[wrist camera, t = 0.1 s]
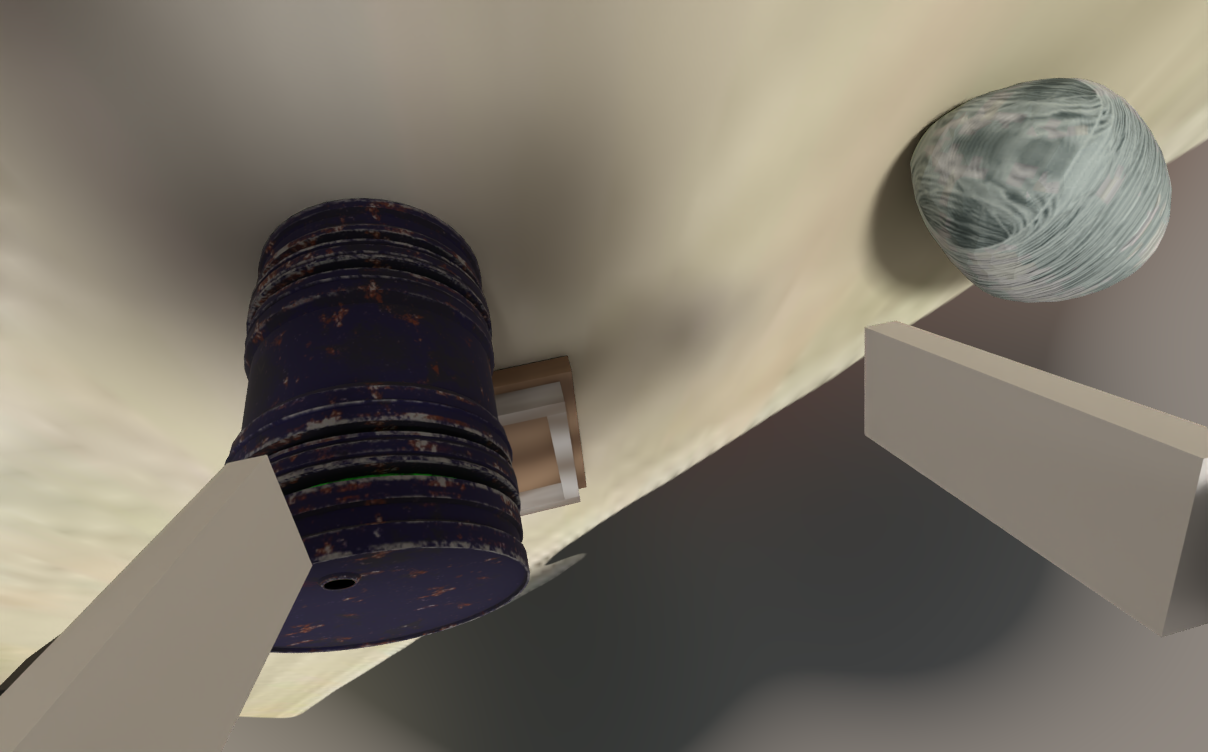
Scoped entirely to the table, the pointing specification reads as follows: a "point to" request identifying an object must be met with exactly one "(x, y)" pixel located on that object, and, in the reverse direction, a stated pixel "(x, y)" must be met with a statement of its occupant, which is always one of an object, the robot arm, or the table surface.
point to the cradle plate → (541, 432)
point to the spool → (1043, 189)
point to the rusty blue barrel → (381, 425)
